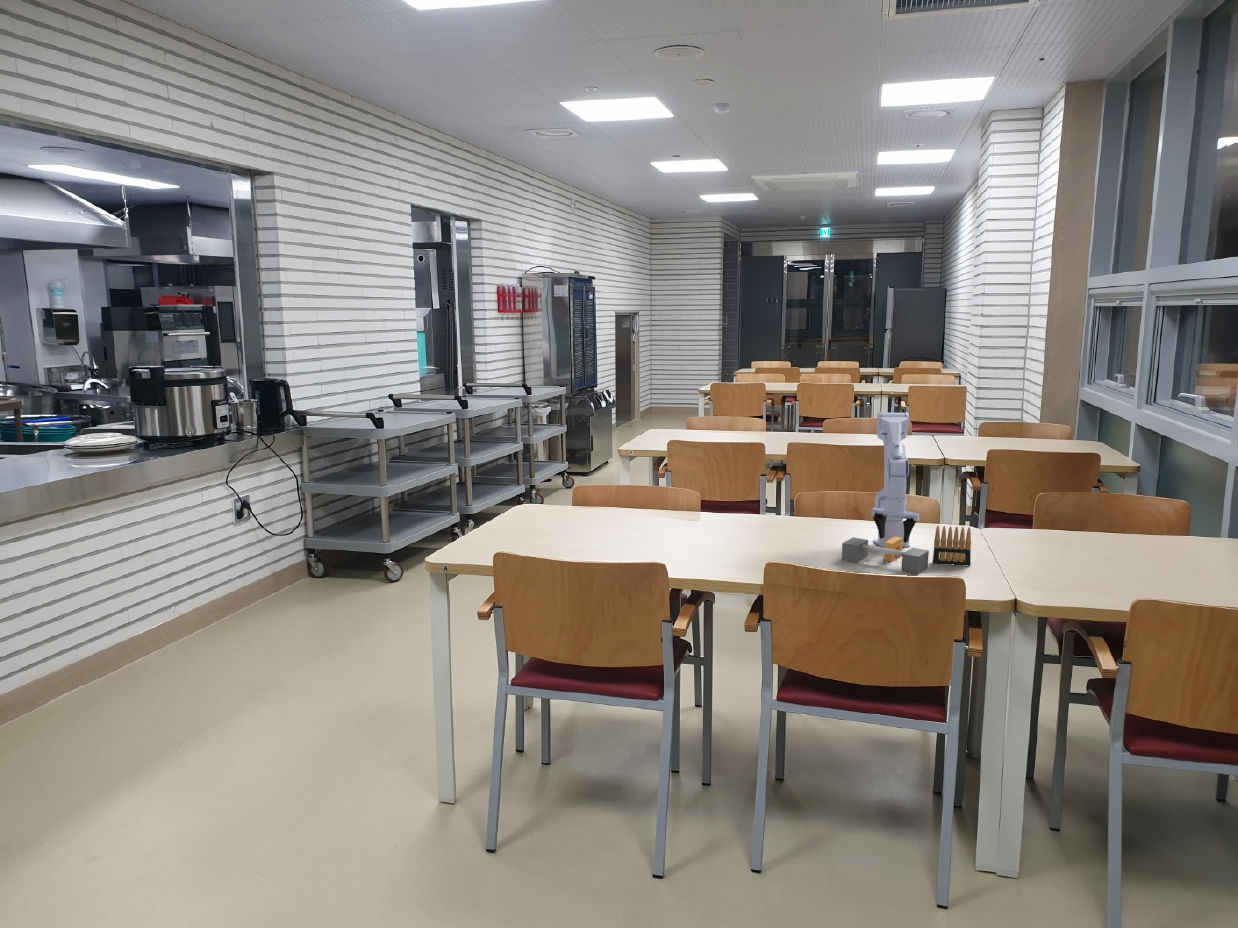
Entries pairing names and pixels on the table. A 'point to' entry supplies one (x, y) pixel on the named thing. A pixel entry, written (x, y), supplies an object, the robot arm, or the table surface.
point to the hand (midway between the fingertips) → (893, 539)
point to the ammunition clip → (953, 553)
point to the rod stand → (911, 559)
